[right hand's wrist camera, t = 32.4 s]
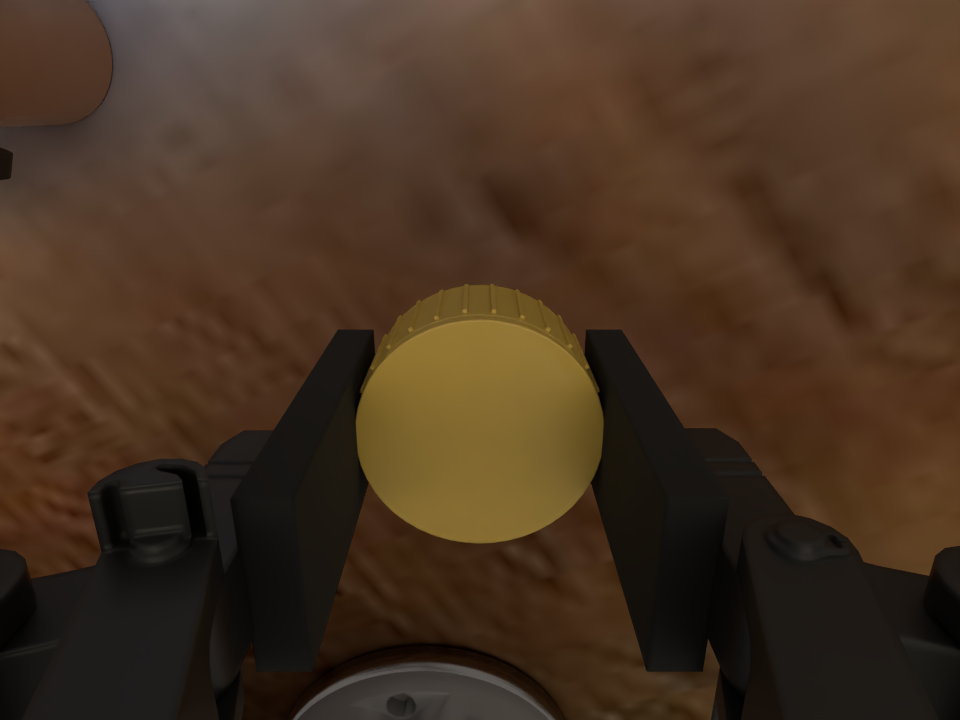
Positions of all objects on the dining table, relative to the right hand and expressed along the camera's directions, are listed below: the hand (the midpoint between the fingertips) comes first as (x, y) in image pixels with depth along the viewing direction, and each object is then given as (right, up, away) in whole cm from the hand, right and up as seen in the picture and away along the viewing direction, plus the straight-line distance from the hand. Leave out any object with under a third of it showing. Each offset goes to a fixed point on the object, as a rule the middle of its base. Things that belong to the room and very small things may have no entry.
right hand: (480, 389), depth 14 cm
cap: (0, -1, -2) cm, 2 cm away
